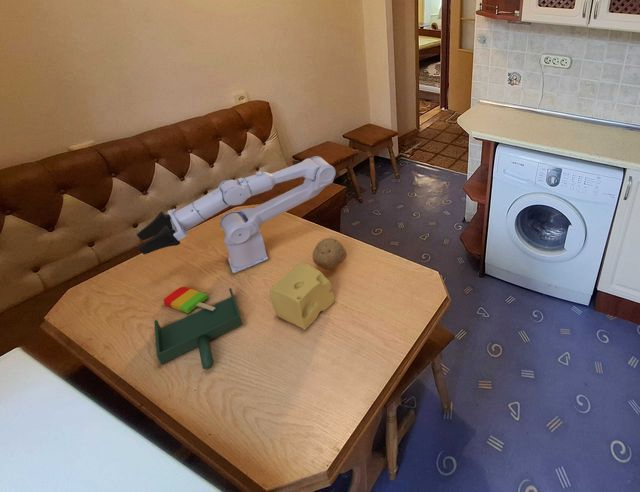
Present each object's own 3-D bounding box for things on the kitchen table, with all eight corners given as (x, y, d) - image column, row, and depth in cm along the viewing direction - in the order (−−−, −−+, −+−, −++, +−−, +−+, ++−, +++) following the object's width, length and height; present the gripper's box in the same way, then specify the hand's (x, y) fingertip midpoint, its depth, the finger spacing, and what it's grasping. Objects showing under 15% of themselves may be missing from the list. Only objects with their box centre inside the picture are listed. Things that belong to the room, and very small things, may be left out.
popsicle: (183, 290, 98) (181, 284, 98) (225, 303, 94) (223, 298, 93) (162, 305, 94) (160, 300, 93) (205, 320, 89) (203, 315, 89)
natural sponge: (309, 267, 107) (303, 240, 103) (335, 252, 114) (331, 226, 110) (324, 282, 102) (319, 255, 98) (351, 266, 108) (348, 239, 104)
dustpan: (158, 330, 87) (154, 320, 86) (233, 296, 97) (231, 287, 95) (164, 398, 73) (159, 388, 72) (251, 351, 83) (248, 341, 81)
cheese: (335, 301, 96) (331, 273, 92) (303, 333, 87) (296, 303, 83) (307, 288, 100) (301, 260, 96) (274, 317, 91) (266, 288, 87)
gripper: (185, 191, 99) (127, 221, 92) (193, 211, 89) (129, 247, 82) (200, 209, 103) (146, 239, 96) (210, 230, 93) (150, 266, 86)
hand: (140, 244), depth 89 cm, fingers open, 7 cm apart
